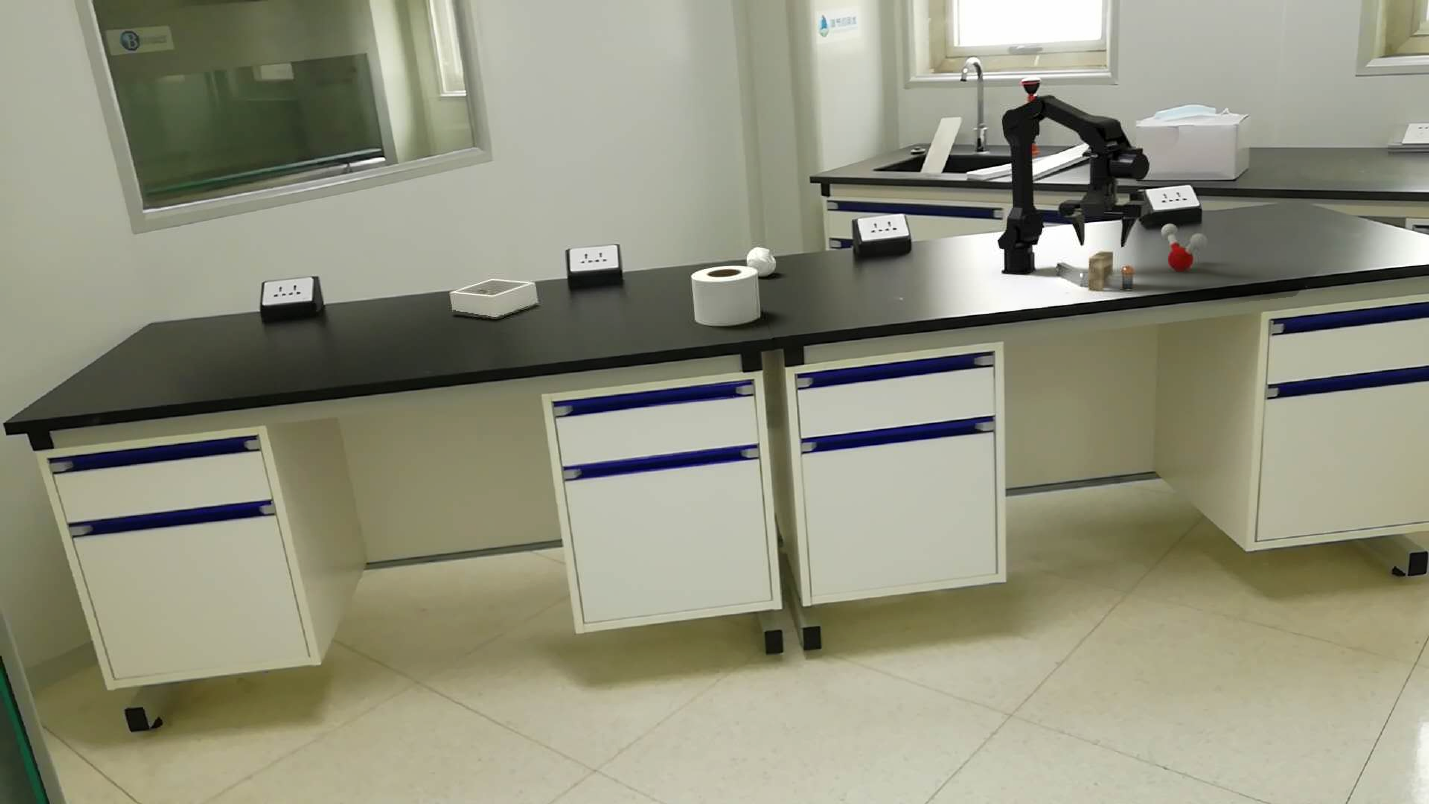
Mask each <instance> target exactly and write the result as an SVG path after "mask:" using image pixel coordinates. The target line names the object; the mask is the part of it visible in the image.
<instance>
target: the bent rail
mask: <svg viewBox="0 0 1429 804" xmlns="http://www.w3.org/2000/svg"><path fill="white" fill-rule="evenodd" d="M1055 273H1056V276H1058V277H1060V278H1061V279H1064V280H1066V281H1068V282H1071V283H1073V284H1074V285H1077V286H1078V287H1083V288H1089V272H1086V271H1084V270H1082V269H1079V268H1077V267H1075V266H1072V265H1070V264H1068V263H1066V262H1057V263H1056V267H1055ZM1120 273H1121V274H1115V273H1113V274H1104V286H1103V289H1109V288H1111V289H1112V290H1122V289H1131V290H1133V287H1134V273H1135V272H1134V268H1133V266H1130V265H1124V266H1123V267H1122V268H1121V272H1120Z"/></svg>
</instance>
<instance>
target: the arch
mask: <svg viewBox="0 0 1429 804" xmlns="http://www.w3.org/2000/svg"><path fill="white" fill-rule="evenodd" d="M1113 265H1114V252H1113V251H1098V252H1097V253H1095V254H1094V255H1092V256H1090V257H1089V258H1088V273H1089V287H1088V291H1089V290H1091V291H1090V292H1103V291H1104V288H1103V286H1104V274H1114V273H1113V271H1114V270H1113V268H1114V266H1113ZM1102 290H1103V291H1102Z"/></svg>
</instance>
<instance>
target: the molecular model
mask: <svg viewBox="0 0 1429 804" xmlns="http://www.w3.org/2000/svg"><path fill="white" fill-rule="evenodd" d="M1178 230H1179V229H1178V228H1177V226H1176V225H1175V224H1173V223H1167V224H1165V225H1164V226H1162V228H1161V233H1160V234H1161V236H1162V237H1163V239H1166V240H1168V243H1169V245H1170V247H1171V251H1170V252H1169V253H1168V256H1167V262H1168V265H1169V267H1170V268H1171V269H1173V270H1174V271H1178V272H1183V271H1186V270H1187V269H1189V268H1190V267H1191V266H1192V264H1193V262H1194V254H1193V253H1194V252H1195V251H1197V250H1198V251H1199V250H1201V249H1203V248H1205V247H1206V246H1207V244H1208V239H1207V237H1206V236H1205V234H1203V233H1195V234H1193V235H1192V236H1191V237H1190V238H1189V239H1190V240H1189V244H1188V246H1187V247H1185V246H1180V243H1179V240H1178V238H1177V235H1178Z"/></svg>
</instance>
